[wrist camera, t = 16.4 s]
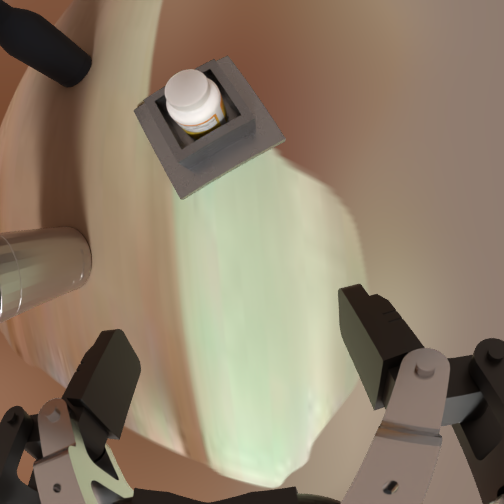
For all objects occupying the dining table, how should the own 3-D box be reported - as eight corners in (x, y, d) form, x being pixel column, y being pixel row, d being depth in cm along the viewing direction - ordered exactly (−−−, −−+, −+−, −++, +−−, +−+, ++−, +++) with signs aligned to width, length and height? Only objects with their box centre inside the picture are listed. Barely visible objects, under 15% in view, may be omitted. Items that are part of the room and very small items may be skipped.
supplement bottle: (197, 96, 30) (175, 57, 20) (236, 110, 30) (227, 71, 20) (176, 133, 30) (146, 103, 21) (215, 148, 31) (197, 121, 21)
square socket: (183, 199, 33) (168, 196, 27) (137, 113, 31) (118, 98, 26) (284, 141, 31) (289, 126, 26) (228, 59, 30) (223, 36, 24)
